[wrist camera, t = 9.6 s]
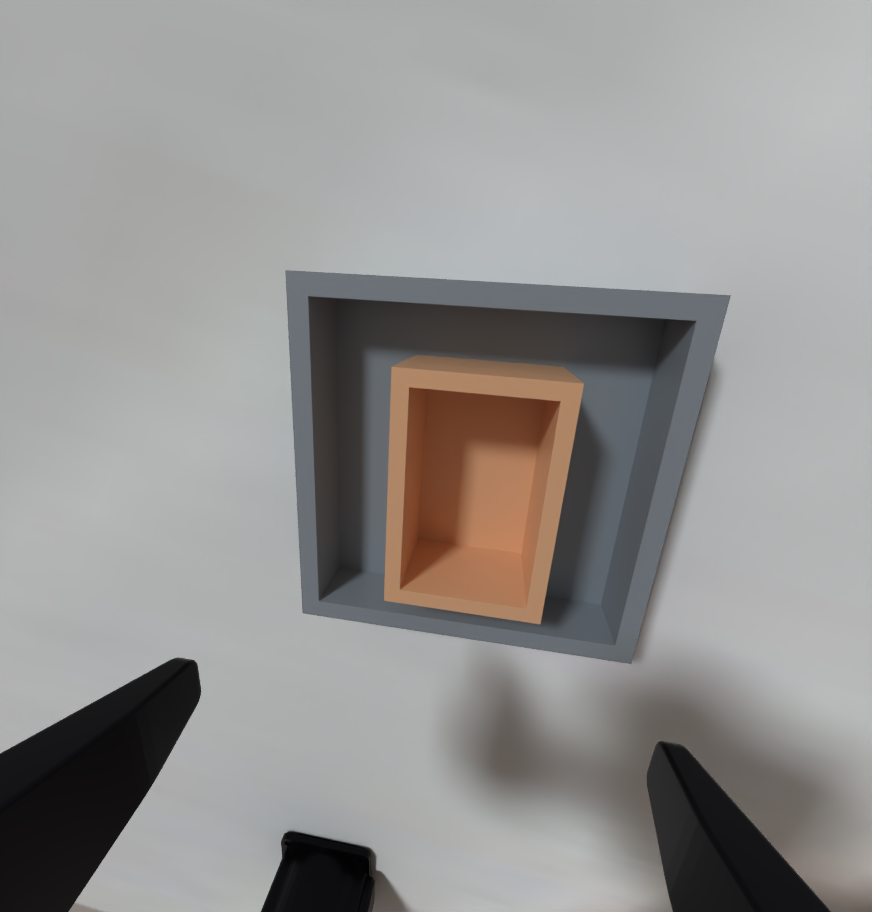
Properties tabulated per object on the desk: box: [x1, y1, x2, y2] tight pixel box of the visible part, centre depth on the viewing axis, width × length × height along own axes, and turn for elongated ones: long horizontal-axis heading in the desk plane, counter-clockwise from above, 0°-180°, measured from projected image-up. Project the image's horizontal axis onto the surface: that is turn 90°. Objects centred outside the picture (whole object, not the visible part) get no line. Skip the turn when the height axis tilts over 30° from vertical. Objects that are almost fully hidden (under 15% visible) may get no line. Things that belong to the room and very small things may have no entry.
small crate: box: [384, 354, 584, 624], centre depth 17 cm, size 6×9×4 cm, turn 176°
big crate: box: [286, 270, 730, 664], centre depth 18 cm, size 15×15×4 cm
